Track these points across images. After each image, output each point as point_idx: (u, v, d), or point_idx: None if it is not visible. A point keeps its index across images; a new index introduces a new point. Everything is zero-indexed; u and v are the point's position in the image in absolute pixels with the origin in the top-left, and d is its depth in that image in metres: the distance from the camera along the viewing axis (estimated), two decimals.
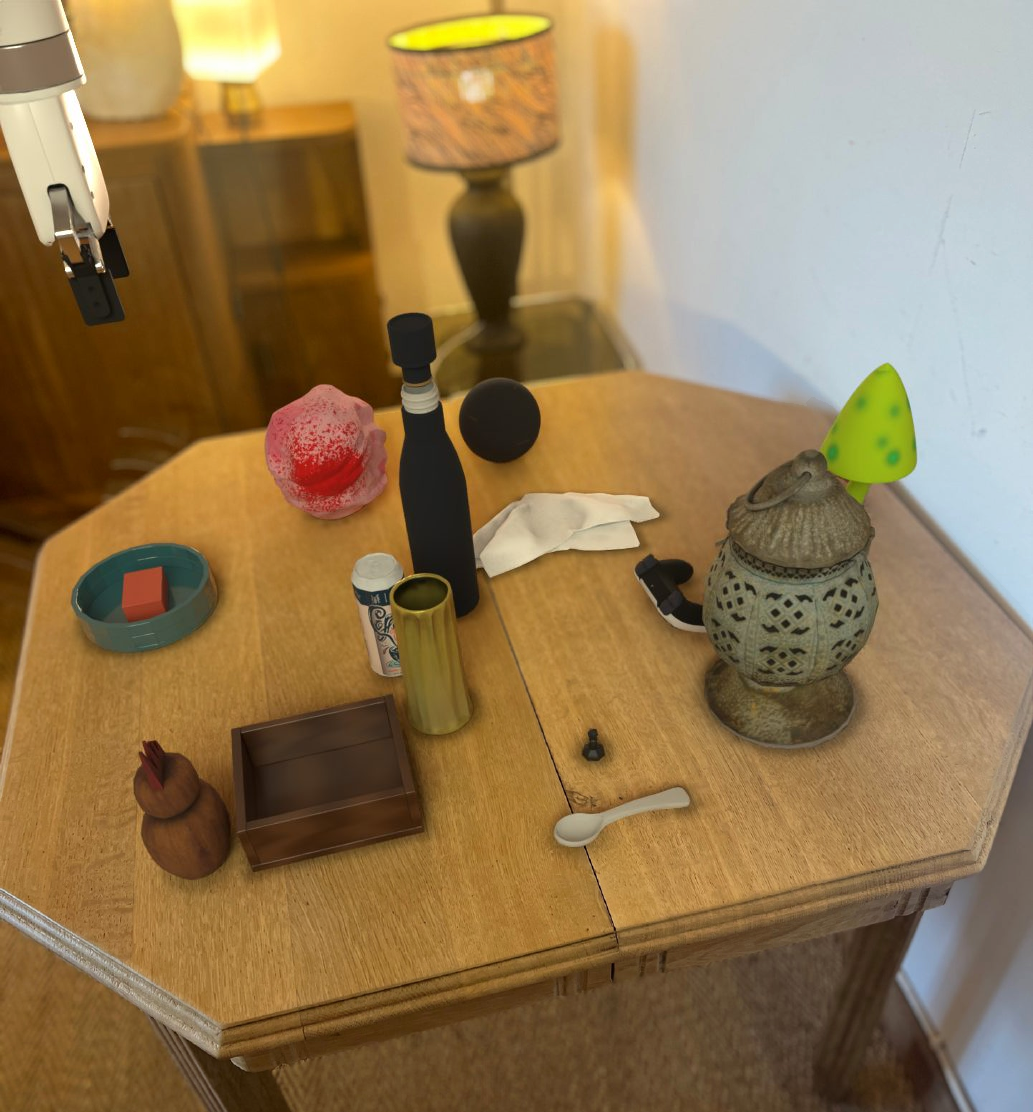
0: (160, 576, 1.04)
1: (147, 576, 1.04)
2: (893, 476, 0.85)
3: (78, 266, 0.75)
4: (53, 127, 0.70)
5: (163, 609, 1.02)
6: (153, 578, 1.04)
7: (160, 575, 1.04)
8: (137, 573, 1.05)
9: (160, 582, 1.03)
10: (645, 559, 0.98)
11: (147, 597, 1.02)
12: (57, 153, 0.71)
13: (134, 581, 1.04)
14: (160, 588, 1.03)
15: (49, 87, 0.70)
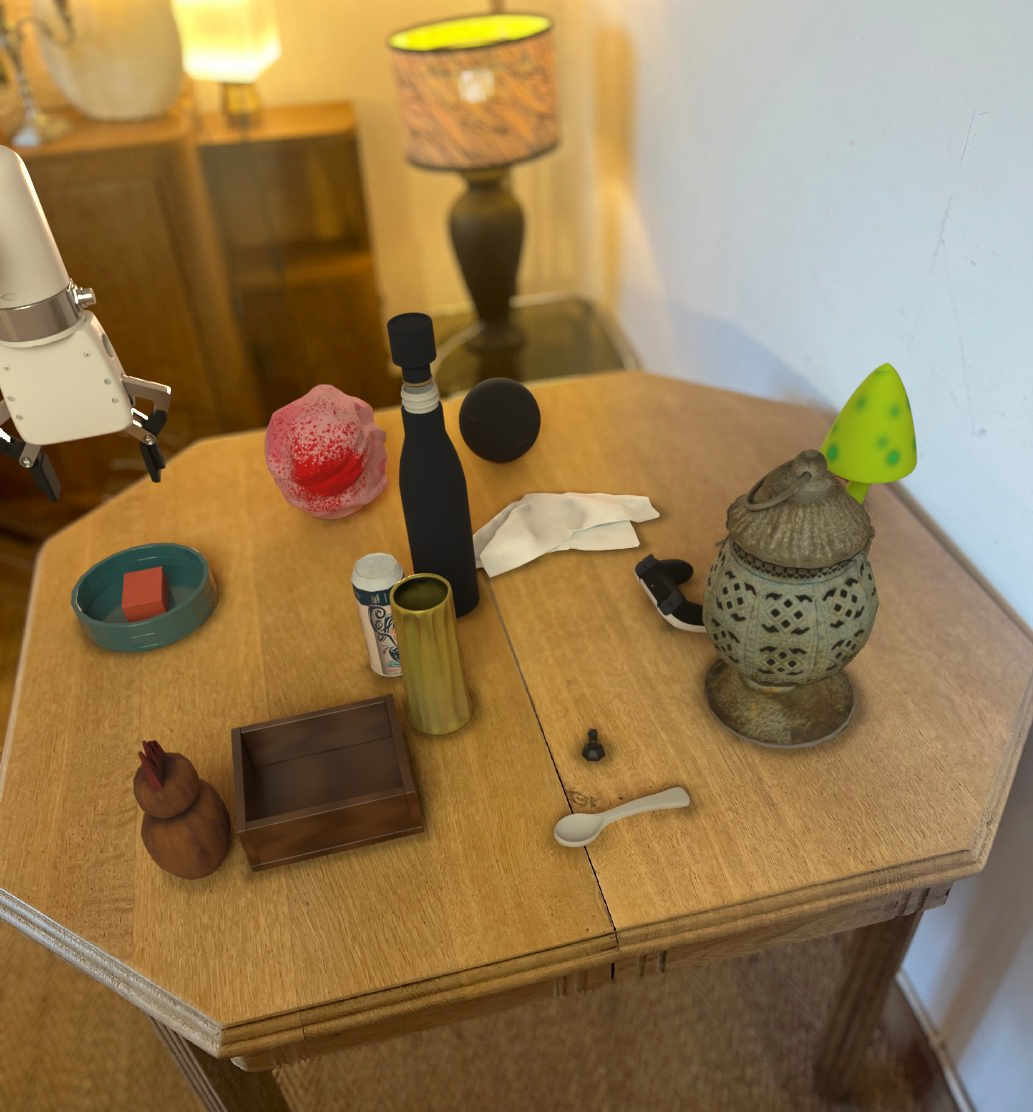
0: (160, 576, 1.04)
1: (147, 576, 1.04)
2: (893, 476, 0.85)
3: None
4: None
5: (163, 609, 1.02)
6: (153, 578, 1.04)
7: (160, 575, 1.04)
8: (137, 573, 1.05)
9: (160, 582, 1.03)
10: (645, 559, 0.98)
11: (147, 597, 1.02)
12: None
13: (134, 581, 1.04)
14: (160, 588, 1.03)
15: None
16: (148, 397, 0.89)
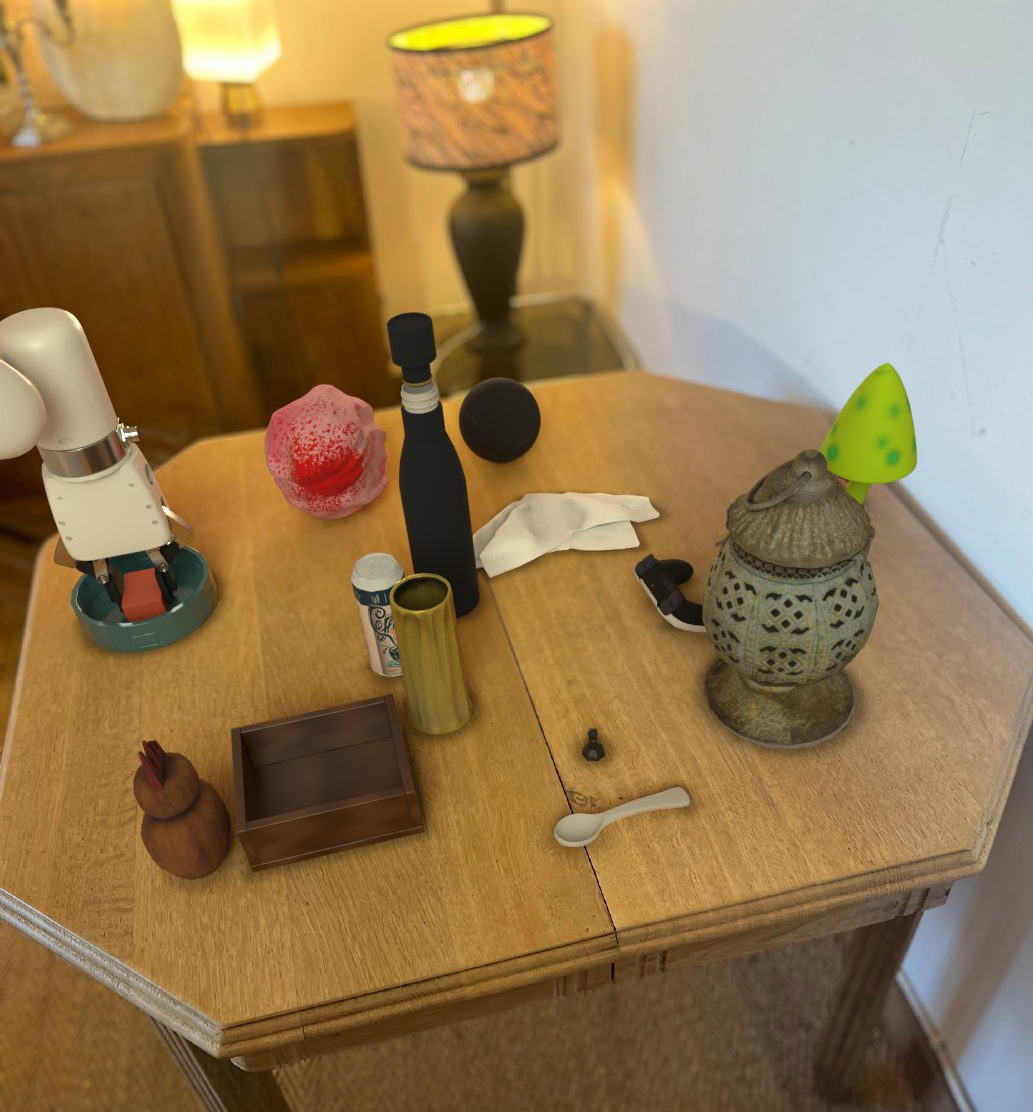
0: None
1: (147, 576, 1.04)
2: (893, 476, 0.85)
3: None
4: (46, 491, 0.92)
5: (163, 609, 1.02)
6: (153, 578, 1.04)
7: None
8: (137, 573, 1.05)
9: None
10: (645, 559, 0.98)
11: (148, 597, 1.02)
12: None
13: (134, 581, 1.04)
14: None
15: (49, 471, 0.91)
16: (174, 530, 0.99)
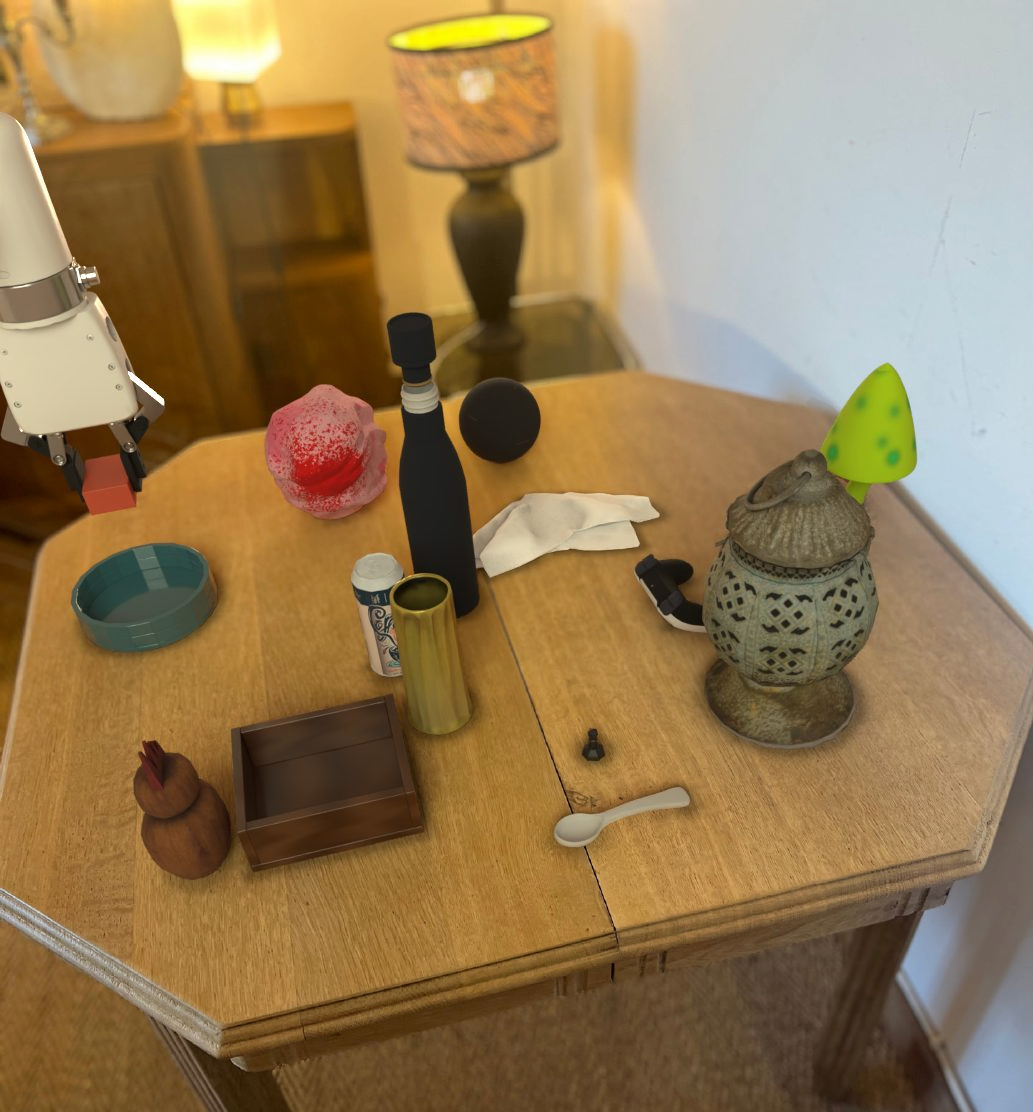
0: None
1: (112, 462, 0.91)
2: (893, 476, 0.85)
3: None
4: None
5: (130, 497, 0.88)
6: (119, 463, 0.90)
7: None
8: (100, 459, 0.91)
9: None
10: (645, 559, 0.98)
11: (112, 483, 0.88)
12: None
13: (97, 467, 0.90)
14: None
15: None
16: (142, 401, 0.85)
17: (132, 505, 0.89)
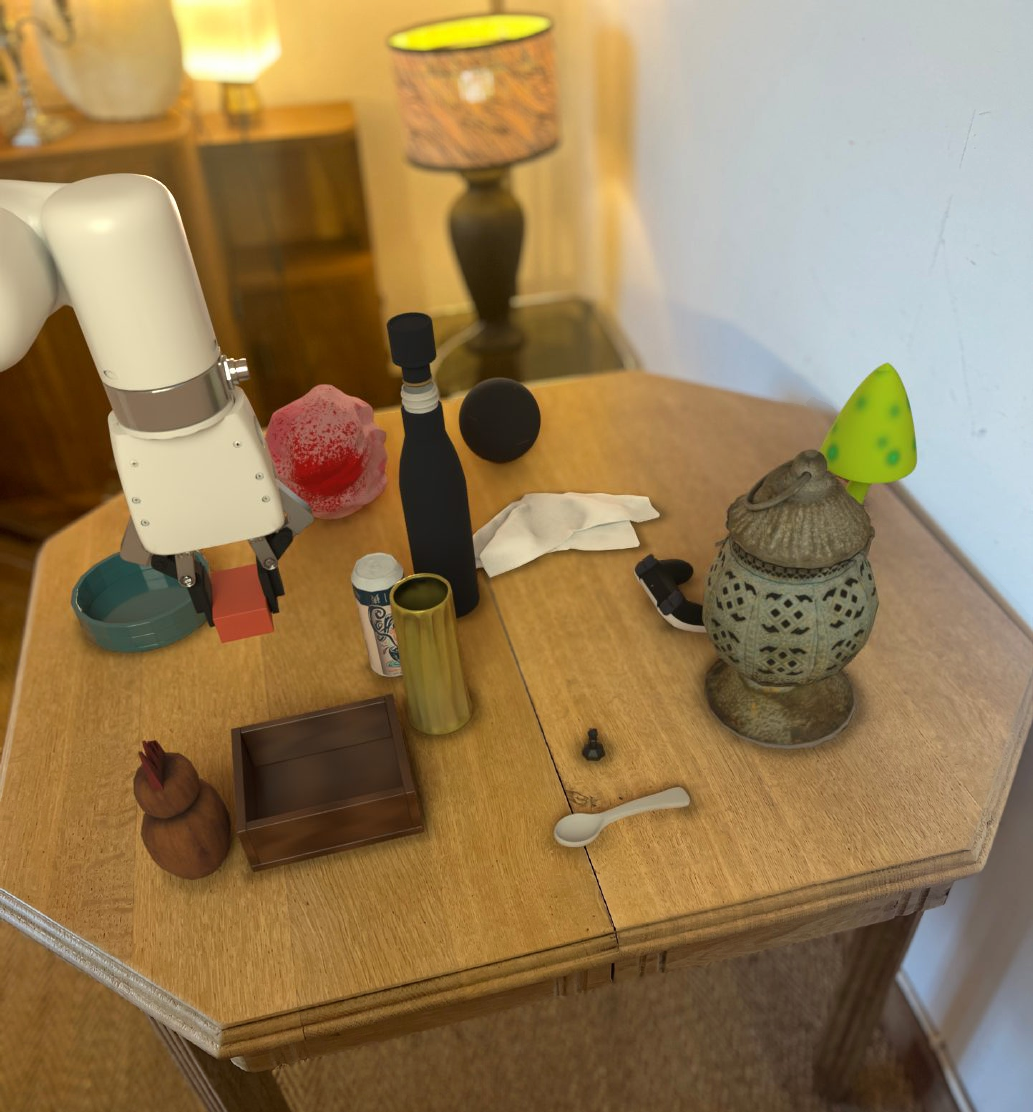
0: None
1: (243, 576, 0.76)
2: (893, 476, 0.85)
3: None
4: (114, 454, 0.64)
5: (269, 621, 0.74)
6: (251, 578, 0.76)
7: None
8: (228, 571, 0.76)
9: None
10: (645, 559, 0.98)
11: (248, 605, 0.73)
12: None
13: (226, 583, 0.75)
14: None
15: (120, 424, 0.62)
16: (288, 511, 0.71)
17: (270, 630, 0.74)
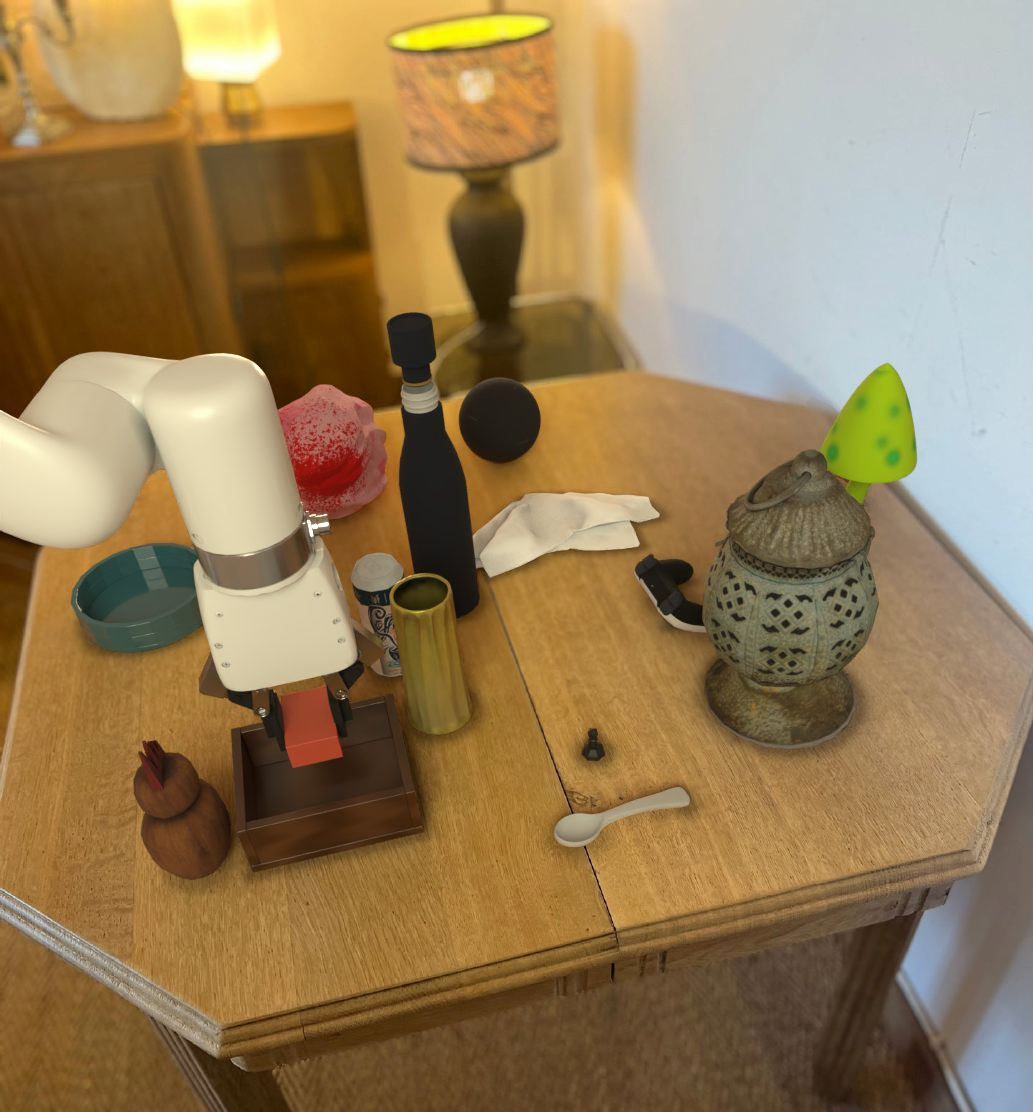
0: None
1: (312, 700, 0.78)
2: (893, 476, 0.85)
3: None
4: (199, 605, 0.66)
5: (338, 747, 0.76)
6: (321, 703, 0.78)
7: None
8: (297, 695, 0.79)
9: None
10: (645, 559, 0.98)
11: (319, 733, 0.76)
12: None
13: (296, 708, 0.78)
14: None
15: (208, 579, 0.65)
16: (360, 647, 0.73)
17: (339, 755, 0.77)
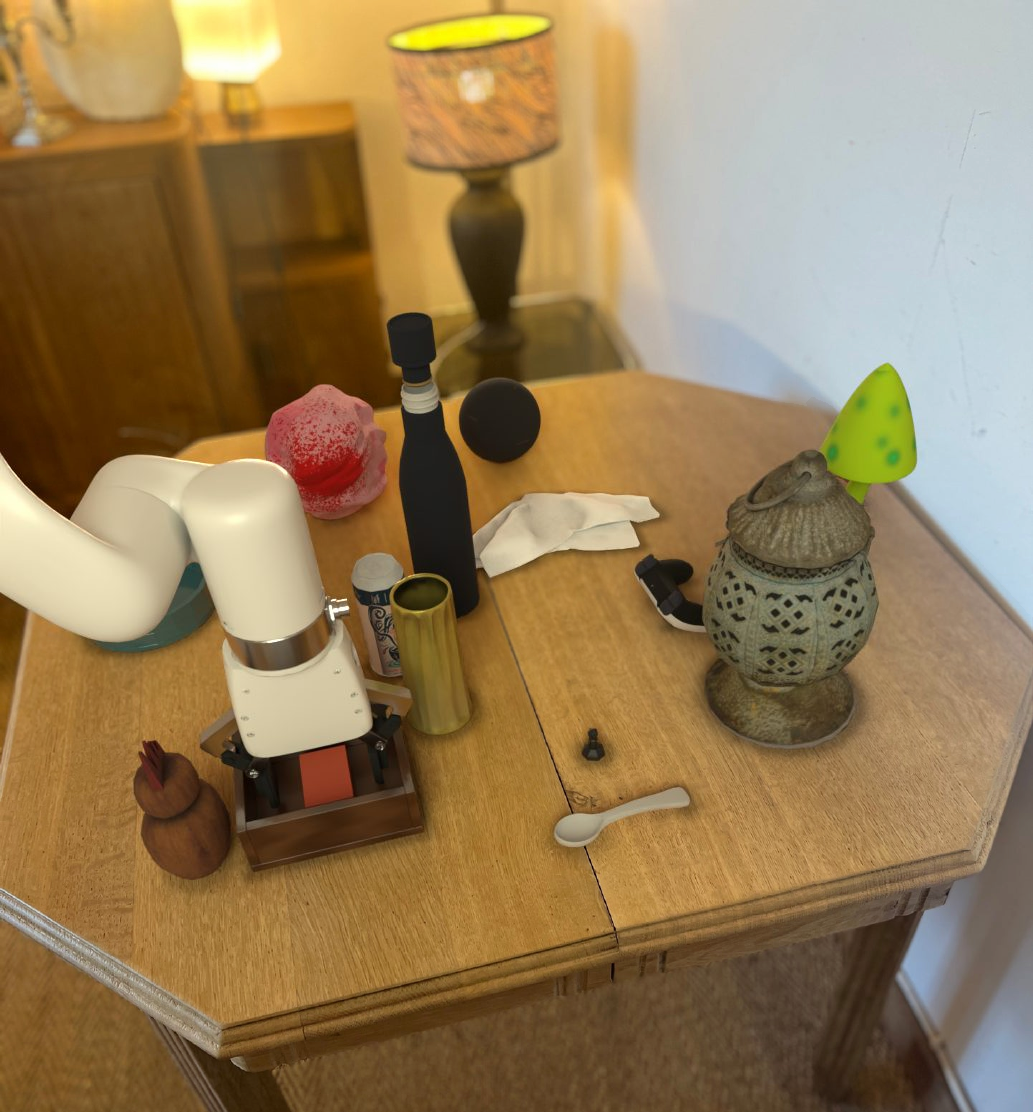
0: (346, 760, 0.83)
1: (329, 759, 0.83)
2: (893, 476, 0.85)
3: None
4: (227, 681, 0.71)
5: None
6: (337, 762, 0.83)
7: (345, 758, 0.83)
8: (315, 754, 0.84)
9: (347, 769, 0.82)
10: (645, 559, 0.98)
11: (336, 792, 0.81)
12: None
13: (314, 767, 0.83)
14: (349, 778, 0.82)
15: (236, 660, 0.70)
16: (388, 703, 0.77)
17: None
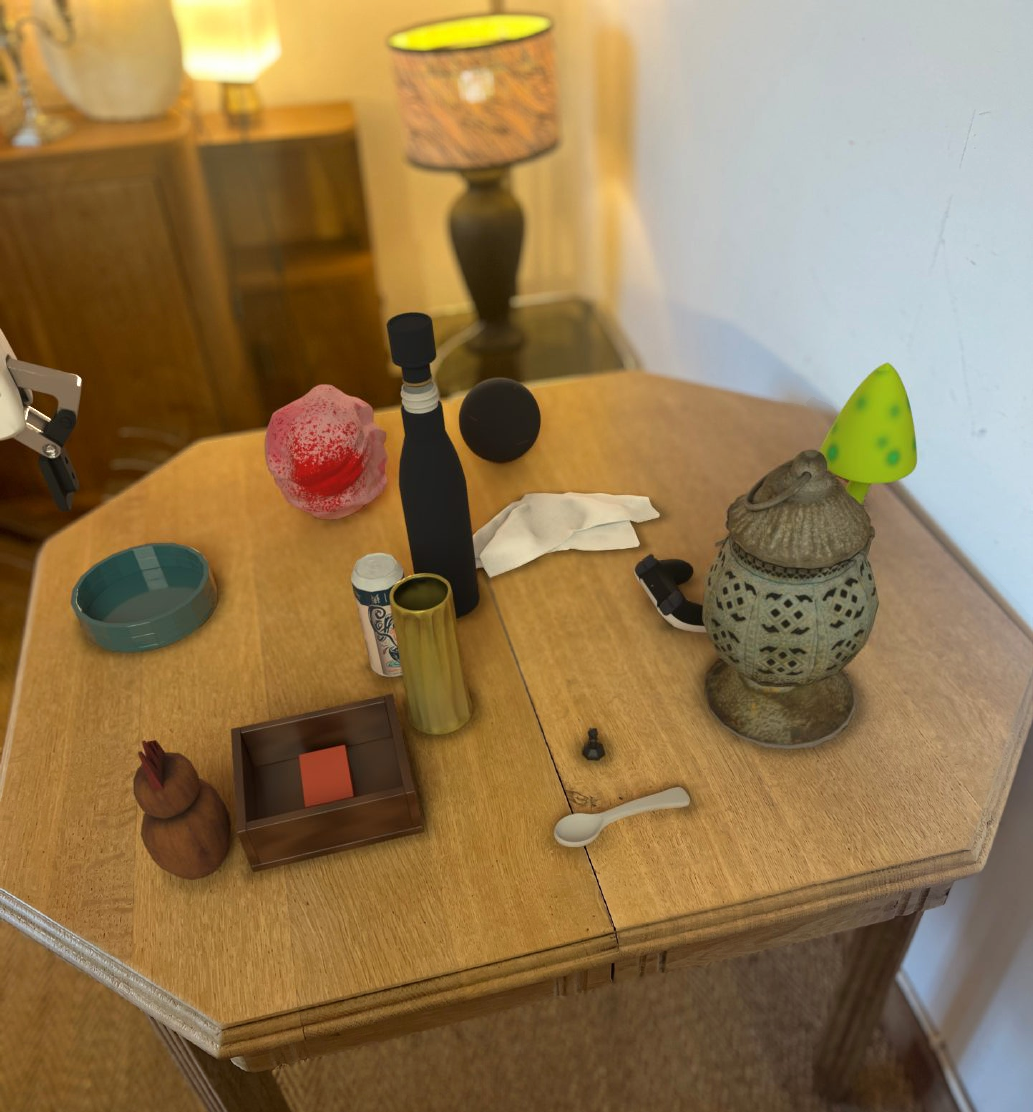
0: (346, 760, 0.83)
1: (329, 759, 0.83)
2: (893, 476, 0.85)
3: None
4: None
5: None
6: (337, 762, 0.83)
7: (345, 758, 0.83)
8: (315, 754, 0.84)
9: (347, 769, 0.82)
10: (645, 559, 0.98)
11: (336, 792, 0.81)
12: None
13: (314, 767, 0.83)
14: (349, 778, 0.82)
15: None
16: (47, 390, 0.62)
17: None
